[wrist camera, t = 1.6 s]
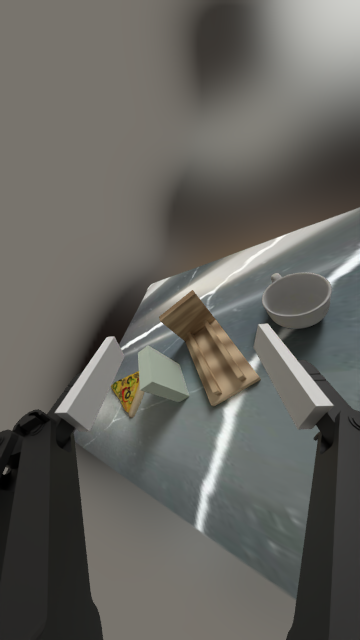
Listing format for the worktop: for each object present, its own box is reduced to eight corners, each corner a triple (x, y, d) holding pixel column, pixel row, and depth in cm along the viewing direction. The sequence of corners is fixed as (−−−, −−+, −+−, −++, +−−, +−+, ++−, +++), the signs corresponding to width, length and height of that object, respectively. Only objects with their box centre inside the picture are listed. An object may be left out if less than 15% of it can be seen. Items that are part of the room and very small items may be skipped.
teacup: (340, 328, 27) (346, 303, 22) (274, 339, 33) (267, 321, 28) (310, 281, 36) (309, 255, 31) (261, 296, 41) (254, 276, 36)
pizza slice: (137, 419, 44) (130, 418, 42) (104, 407, 56) (97, 406, 54) (153, 368, 52) (147, 365, 50) (121, 367, 64) (115, 365, 62)
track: (260, 379, 30) (239, 353, 22) (214, 406, 33) (178, 392, 24) (214, 318, 47) (192, 289, 38) (186, 339, 50) (159, 316, 41)
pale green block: (189, 396, 38) (152, 381, 29) (178, 402, 38) (139, 390, 30) (179, 364, 45) (147, 345, 37) (171, 370, 46) (138, 353, 37)
